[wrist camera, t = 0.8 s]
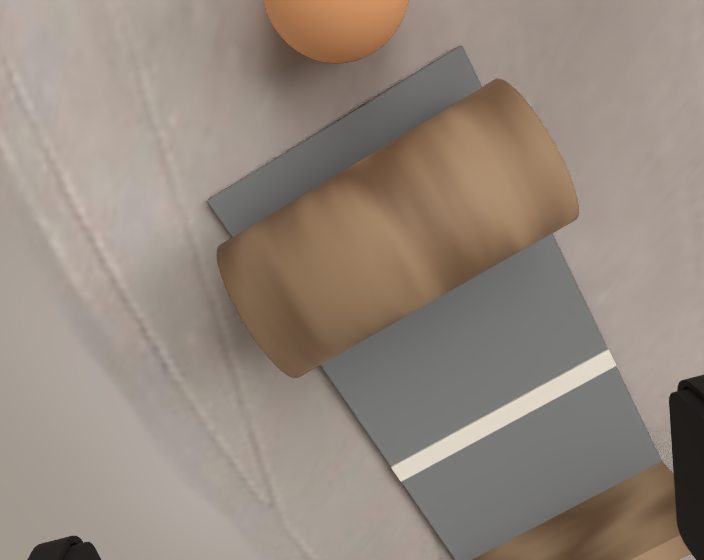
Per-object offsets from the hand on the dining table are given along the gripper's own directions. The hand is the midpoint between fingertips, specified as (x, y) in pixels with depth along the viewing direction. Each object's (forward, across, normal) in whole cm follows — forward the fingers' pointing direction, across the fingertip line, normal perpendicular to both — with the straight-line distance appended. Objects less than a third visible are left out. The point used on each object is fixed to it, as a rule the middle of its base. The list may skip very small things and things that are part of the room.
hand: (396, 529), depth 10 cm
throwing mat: (+23, -5, +11) cm, 26 cm away
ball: (+20, -2, -9) cm, 22 cm away
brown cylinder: (+23, -2, +2) cm, 23 cm away
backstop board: (+23, -9, +24) cm, 34 cm away
